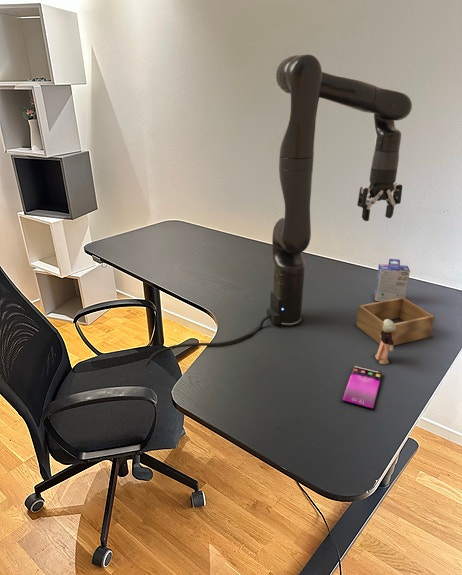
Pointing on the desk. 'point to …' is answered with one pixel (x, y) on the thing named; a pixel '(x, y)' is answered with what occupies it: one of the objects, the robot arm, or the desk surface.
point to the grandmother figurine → (385, 342)
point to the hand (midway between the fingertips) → (376, 219)
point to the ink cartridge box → (391, 281)
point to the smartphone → (362, 387)
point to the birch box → (412, 315)
